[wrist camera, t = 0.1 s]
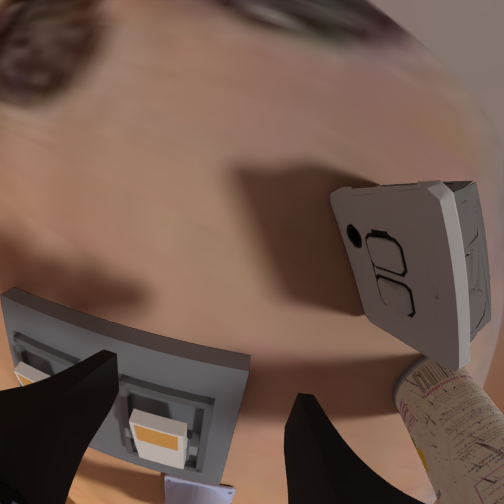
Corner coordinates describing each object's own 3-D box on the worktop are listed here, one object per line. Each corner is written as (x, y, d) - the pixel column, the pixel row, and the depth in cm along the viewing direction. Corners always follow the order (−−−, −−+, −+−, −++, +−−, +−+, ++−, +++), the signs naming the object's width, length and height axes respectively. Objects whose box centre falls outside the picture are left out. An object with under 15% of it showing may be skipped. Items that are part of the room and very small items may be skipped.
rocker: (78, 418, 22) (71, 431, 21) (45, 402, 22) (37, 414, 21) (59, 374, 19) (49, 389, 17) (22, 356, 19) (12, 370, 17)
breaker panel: (221, 470, 25) (217, 498, 22) (40, 409, 25) (24, 428, 22) (250, 355, 21) (247, 388, 18) (13, 287, 21) (-13, 302, 18)
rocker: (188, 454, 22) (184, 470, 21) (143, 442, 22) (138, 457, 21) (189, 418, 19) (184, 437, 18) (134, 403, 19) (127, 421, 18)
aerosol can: (377, 399, 22) (449, 604, 3) (431, 339, 21) (566, 531, 1) (421, 417, 23) (493, 578, 4) (469, 365, 21) (577, 515, 2)
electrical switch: (324, 191, 18) (399, 201, 9) (392, 166, 18) (490, 162, 9) (364, 318, 20) (430, 395, 11) (422, 288, 20) (504, 343, 11)
